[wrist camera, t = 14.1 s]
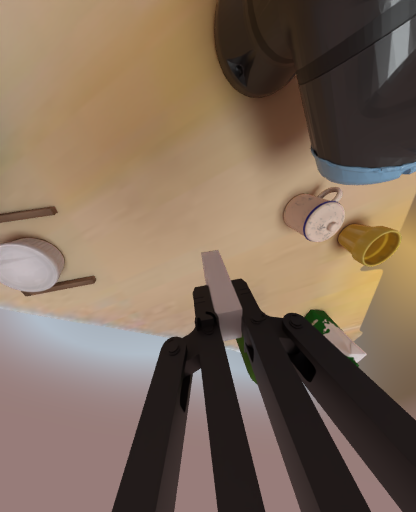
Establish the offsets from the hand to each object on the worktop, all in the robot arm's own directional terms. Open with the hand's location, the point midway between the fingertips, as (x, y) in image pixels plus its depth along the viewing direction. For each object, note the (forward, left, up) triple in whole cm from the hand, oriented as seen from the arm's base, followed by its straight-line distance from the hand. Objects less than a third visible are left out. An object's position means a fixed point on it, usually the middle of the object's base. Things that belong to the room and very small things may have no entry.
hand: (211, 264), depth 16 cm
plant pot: (+17, +46, -26) cm, 55 cm away
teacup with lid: (+6, +29, -26) cm, 39 cm away
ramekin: (+8, -34, -27) cm, 44 cm away
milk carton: (+53, +43, -26) cm, 73 cm away
